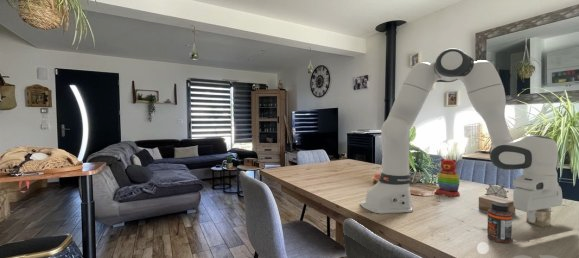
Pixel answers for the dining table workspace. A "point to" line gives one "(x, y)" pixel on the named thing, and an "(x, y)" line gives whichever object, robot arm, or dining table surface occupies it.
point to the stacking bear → (448, 179)
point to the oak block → (542, 218)
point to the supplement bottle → (499, 223)
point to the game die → (496, 191)
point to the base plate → (487, 212)
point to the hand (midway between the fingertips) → (538, 220)
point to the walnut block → (486, 201)
